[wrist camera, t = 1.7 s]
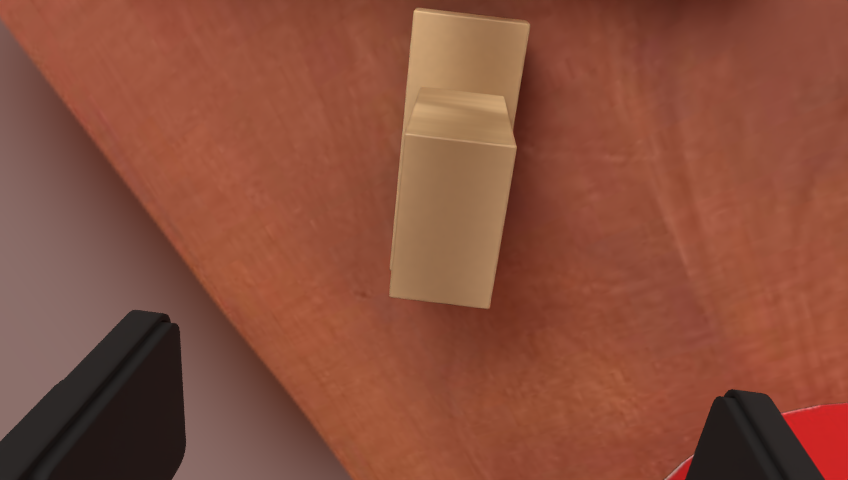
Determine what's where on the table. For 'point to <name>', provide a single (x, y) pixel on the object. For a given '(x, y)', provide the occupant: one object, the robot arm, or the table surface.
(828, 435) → the toy clock
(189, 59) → the table surface
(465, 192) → the brush
